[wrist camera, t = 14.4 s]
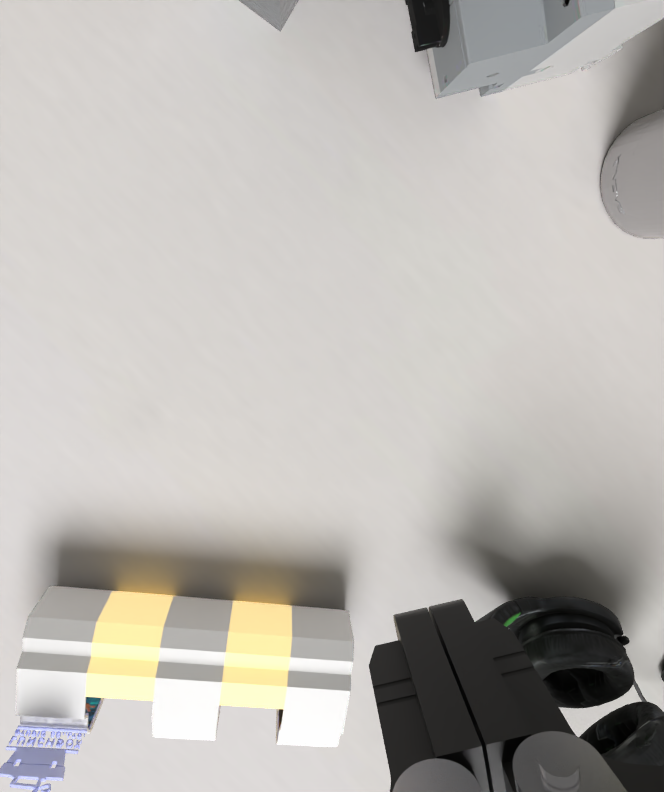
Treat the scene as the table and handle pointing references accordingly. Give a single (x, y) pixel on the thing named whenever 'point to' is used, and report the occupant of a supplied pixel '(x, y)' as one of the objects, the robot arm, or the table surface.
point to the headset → (587, 671)
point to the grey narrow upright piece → (521, 38)
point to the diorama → (175, 669)
